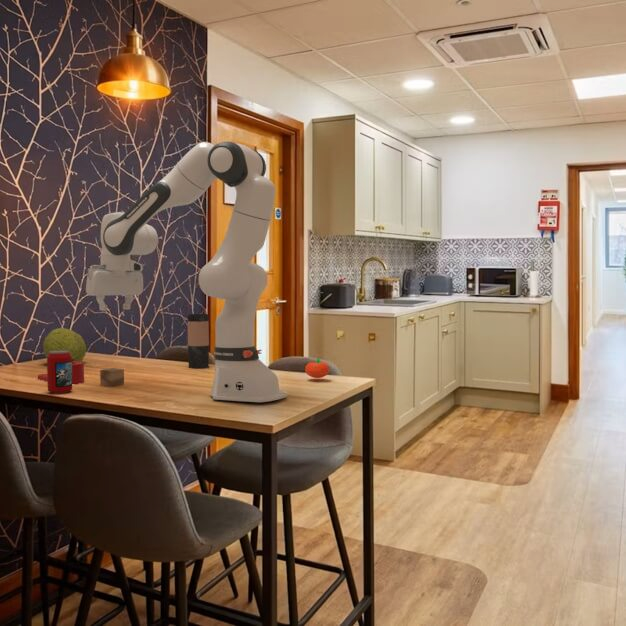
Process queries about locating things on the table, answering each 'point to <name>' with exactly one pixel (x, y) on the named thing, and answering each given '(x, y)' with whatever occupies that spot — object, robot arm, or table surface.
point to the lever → (76, 373)
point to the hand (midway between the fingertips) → (115, 309)
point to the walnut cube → (112, 377)
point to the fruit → (65, 343)
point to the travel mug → (198, 341)
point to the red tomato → (317, 369)
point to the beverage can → (59, 371)
